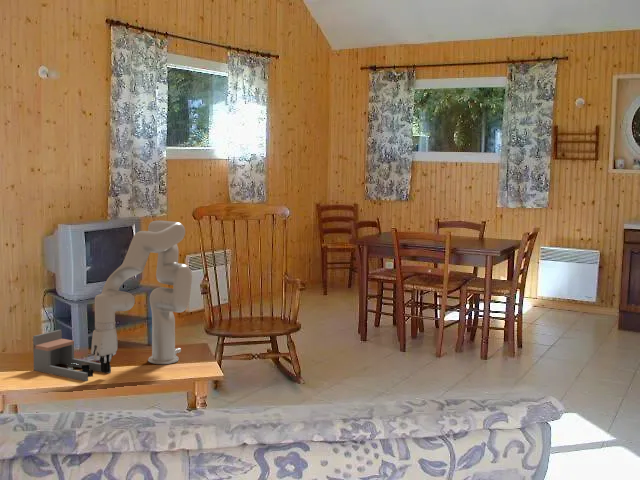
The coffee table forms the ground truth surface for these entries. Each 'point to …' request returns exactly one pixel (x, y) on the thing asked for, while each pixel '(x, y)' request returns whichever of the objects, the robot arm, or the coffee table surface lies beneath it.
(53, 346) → the grey forked stand
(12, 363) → the coffee table surface
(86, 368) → the black block
